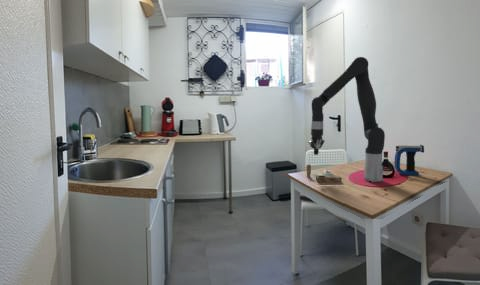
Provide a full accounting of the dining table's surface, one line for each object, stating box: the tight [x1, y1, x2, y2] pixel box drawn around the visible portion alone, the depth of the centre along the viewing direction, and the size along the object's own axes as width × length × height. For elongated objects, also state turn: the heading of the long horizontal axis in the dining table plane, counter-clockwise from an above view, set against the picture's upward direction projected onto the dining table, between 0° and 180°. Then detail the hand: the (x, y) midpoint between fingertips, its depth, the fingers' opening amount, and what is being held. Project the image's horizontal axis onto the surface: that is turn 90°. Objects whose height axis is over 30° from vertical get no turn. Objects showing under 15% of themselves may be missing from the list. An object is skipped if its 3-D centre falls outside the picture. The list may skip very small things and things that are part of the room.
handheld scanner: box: [394, 144, 425, 176], centre depth 175 cm, size 5×16×20 cm, turn 78°
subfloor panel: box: [311, 173, 323, 181], centre depth 169 cm, size 14×21×1 cm, turn 175°
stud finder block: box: [322, 170, 334, 175], centre depth 168 cm, size 5×7×4 cm
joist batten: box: [315, 174, 343, 184], centre depth 161 cm, size 14×5×3 cm, turn 85°
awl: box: [306, 164, 312, 178], centre depth 172 cm, size 3×3×9 cm
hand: (316, 154), depth 175 cm, fingers closed
